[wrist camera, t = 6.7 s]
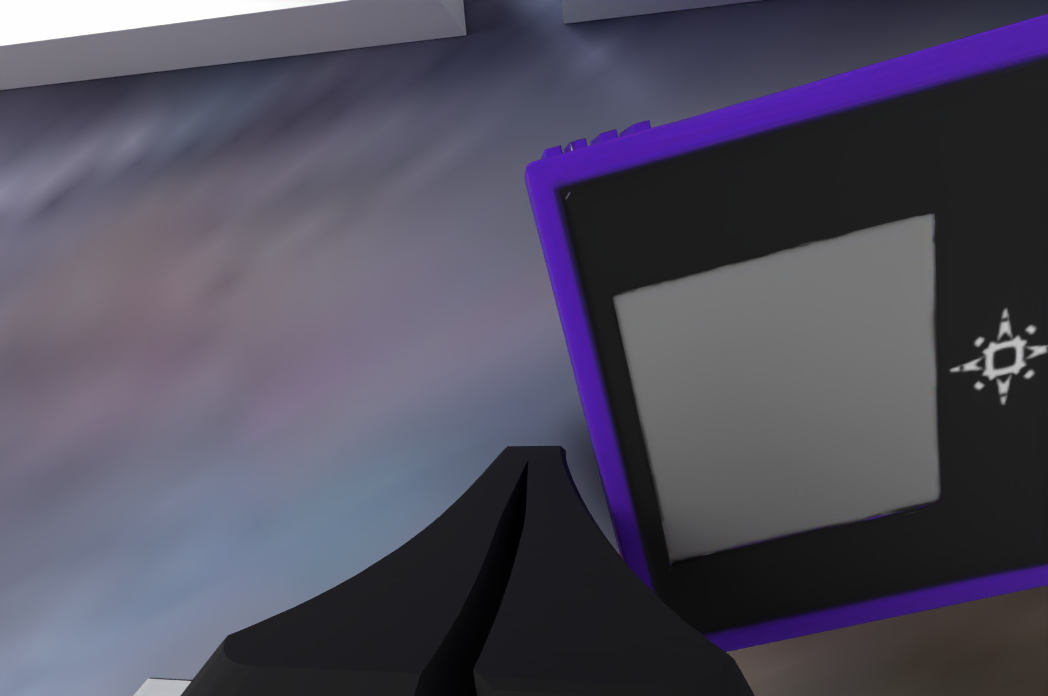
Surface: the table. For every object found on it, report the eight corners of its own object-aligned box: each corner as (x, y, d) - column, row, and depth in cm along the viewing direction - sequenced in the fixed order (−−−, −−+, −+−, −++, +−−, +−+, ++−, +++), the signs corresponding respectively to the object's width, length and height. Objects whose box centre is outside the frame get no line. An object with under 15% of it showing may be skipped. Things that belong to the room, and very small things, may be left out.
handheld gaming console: (1611, 501, 8) (659, 695, 9) (1176, 381, 13) (608, 512, 14) (1958, -267, 5) (521, 149, 6) (1230, -31, 10) (521, 172, 11)
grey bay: (460, -35, 10) (421, -105, 7) (532, 725, 16) (524, 816, 14) (-123, 45, 11) (-307, 8, 9) (158, 702, 18) (95, 780, 16)
